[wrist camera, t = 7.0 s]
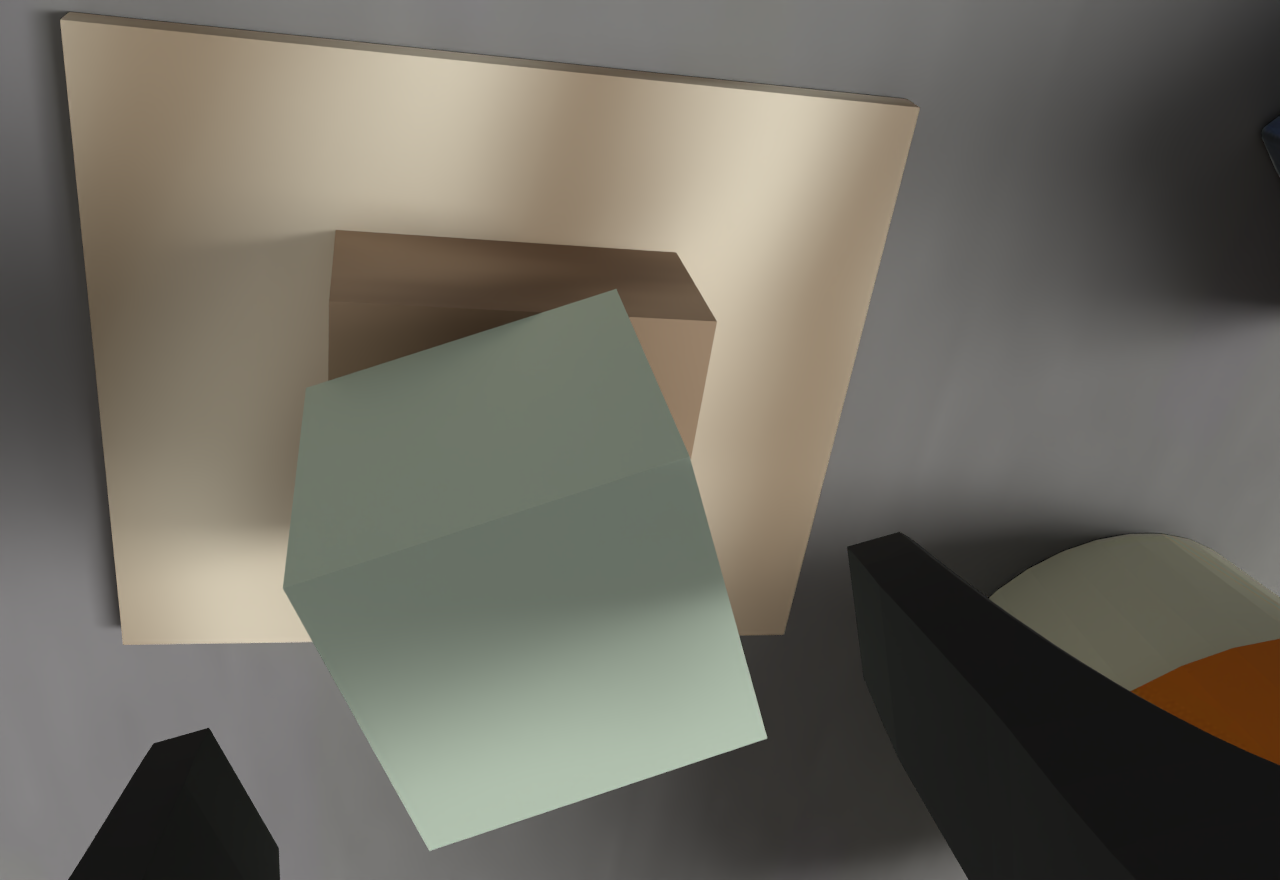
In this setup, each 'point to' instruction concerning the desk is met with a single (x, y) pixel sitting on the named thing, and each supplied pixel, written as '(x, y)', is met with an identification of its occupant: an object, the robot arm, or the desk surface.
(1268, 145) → the box
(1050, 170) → the desk surface
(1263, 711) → the reusable coffee cup
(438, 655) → the sage cube
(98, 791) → the desk surface
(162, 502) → the baseplate
